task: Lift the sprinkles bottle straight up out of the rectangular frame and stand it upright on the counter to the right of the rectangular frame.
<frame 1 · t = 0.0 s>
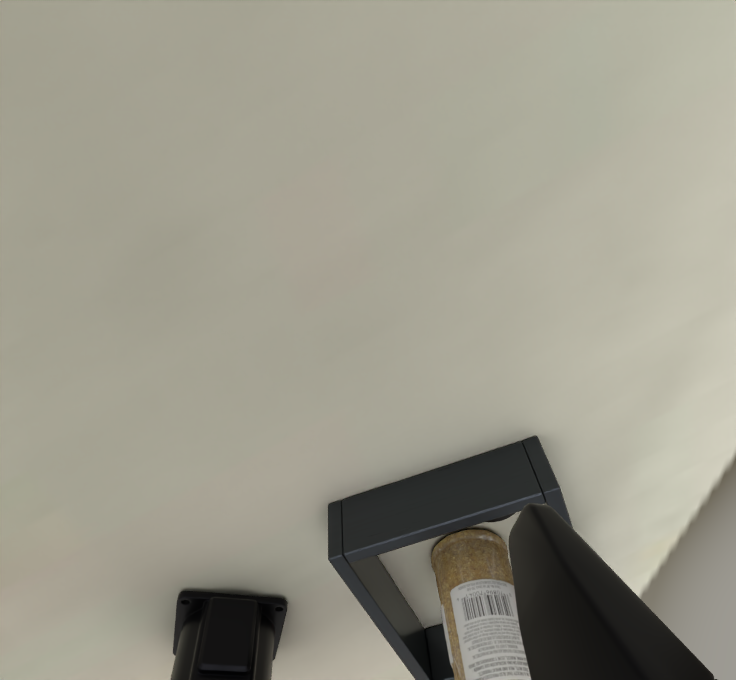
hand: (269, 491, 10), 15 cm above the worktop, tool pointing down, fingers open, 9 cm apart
rectangular frame: (468, 550, 34), on the worktop
sprinkles bottle: (468, 547, 34), resting in rectangular frame
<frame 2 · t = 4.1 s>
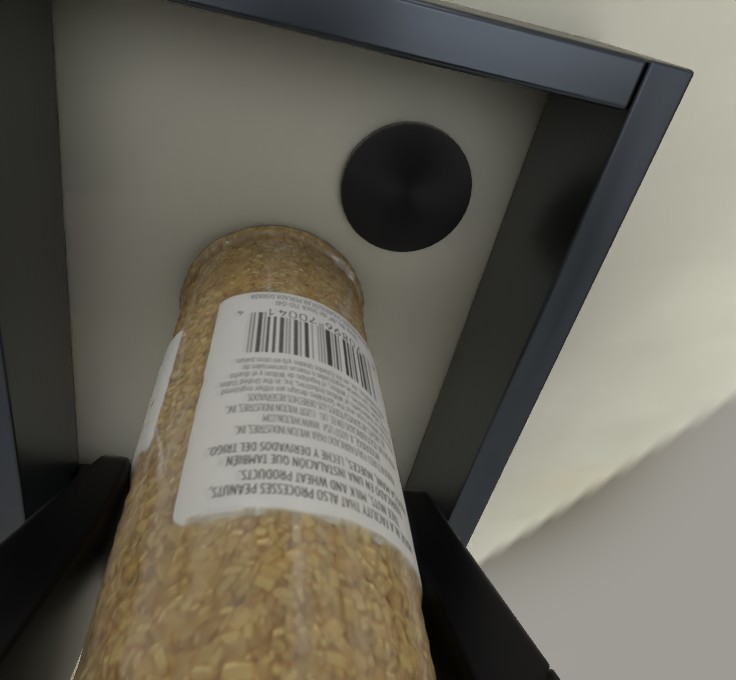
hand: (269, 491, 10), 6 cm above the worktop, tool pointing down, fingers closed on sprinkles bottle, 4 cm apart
rectangular frame: (276, 301, 15), on the worktop
sprinkles bottle: (276, 299, 15), resting in rectangular frame, touching gripper
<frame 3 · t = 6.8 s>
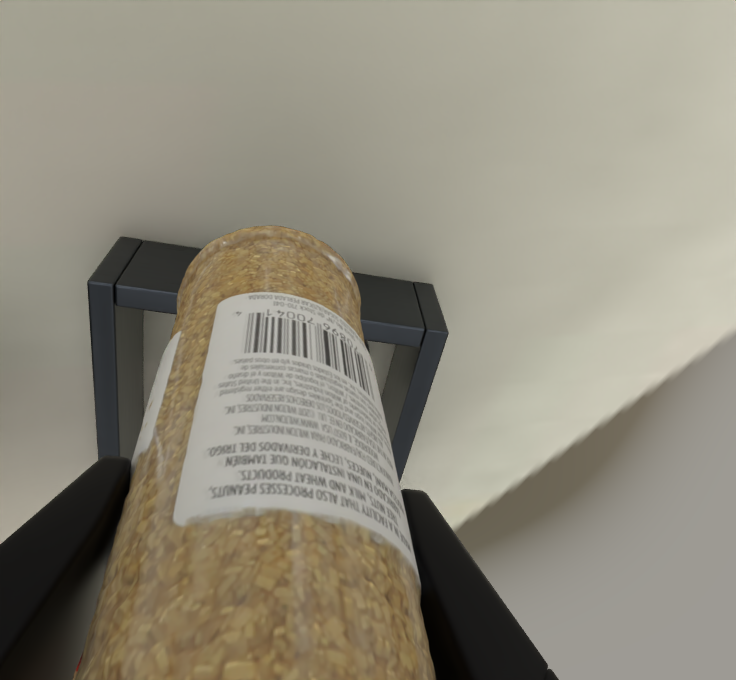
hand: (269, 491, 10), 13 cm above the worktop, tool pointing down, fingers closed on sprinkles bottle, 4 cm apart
rectangular frame: (262, 410, 25), on the worktop
sprinkles bottle: (274, 299, 15), point 7 cm above the worktop, touching gripper
when the fingers open (6 cm above the worktop, at t = 9.4 s): sprinkles bottle stays where it is, on the worktop.
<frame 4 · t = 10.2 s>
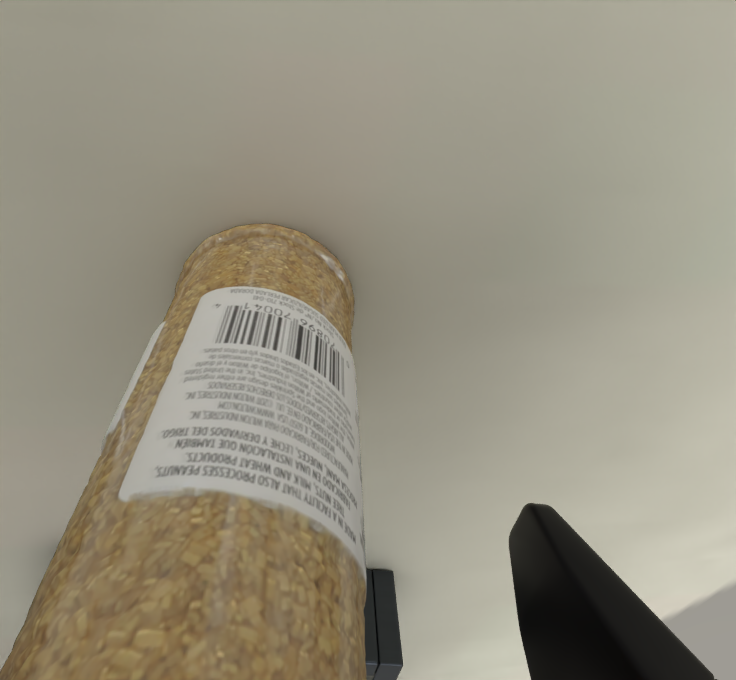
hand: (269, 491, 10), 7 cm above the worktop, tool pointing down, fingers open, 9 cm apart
rectangular frame: (218, 665, 25), on the worktop
sprinkles bottle: (271, 296, 15), on the worktop
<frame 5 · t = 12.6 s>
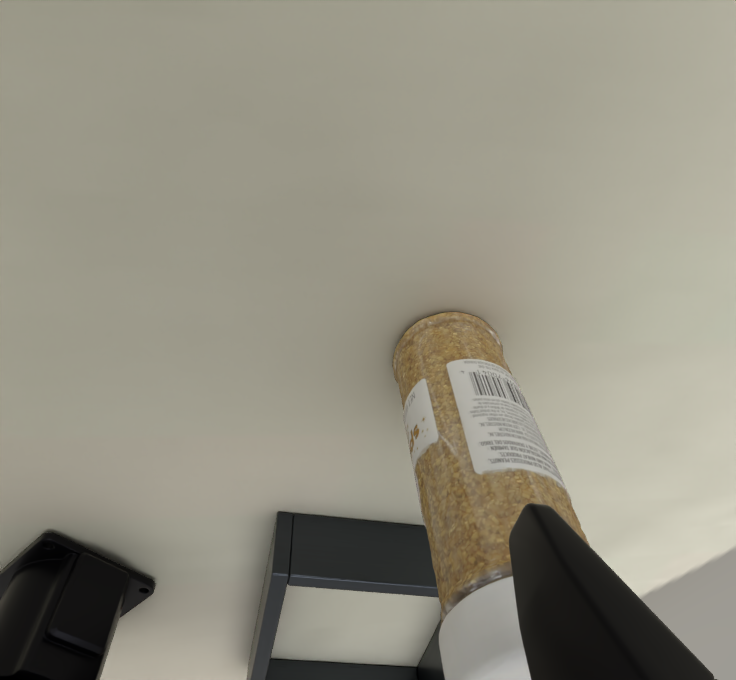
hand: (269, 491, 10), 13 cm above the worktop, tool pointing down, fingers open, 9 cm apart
rectangular frame: (362, 604, 34), on the worktop
sprinkles bottle: (446, 352, 24), on the worktop
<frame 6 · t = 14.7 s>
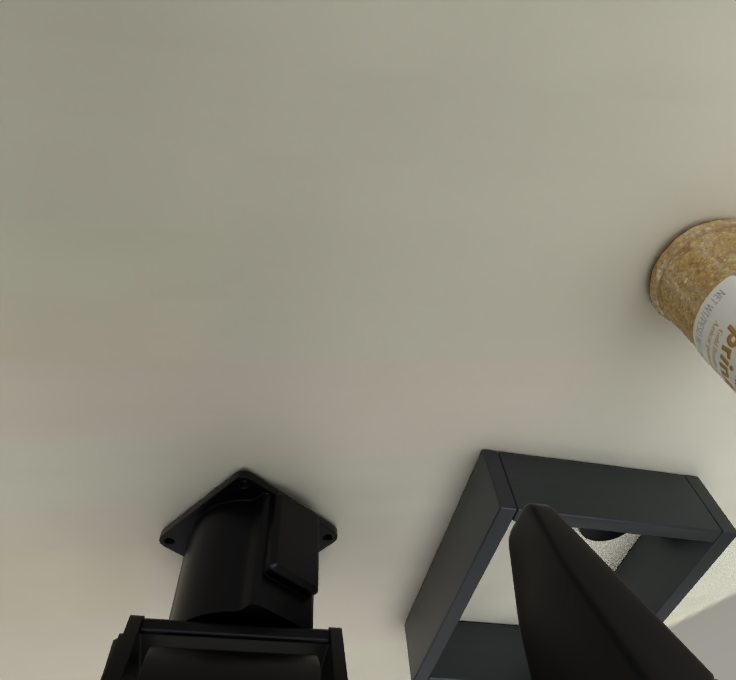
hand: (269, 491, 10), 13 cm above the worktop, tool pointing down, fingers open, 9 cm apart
rectangular frame: (538, 557, 32), on the worktop
sprinkles bottle: (701, 268, 23), on the worktop
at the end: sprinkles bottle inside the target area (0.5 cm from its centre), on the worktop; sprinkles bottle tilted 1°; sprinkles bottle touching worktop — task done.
